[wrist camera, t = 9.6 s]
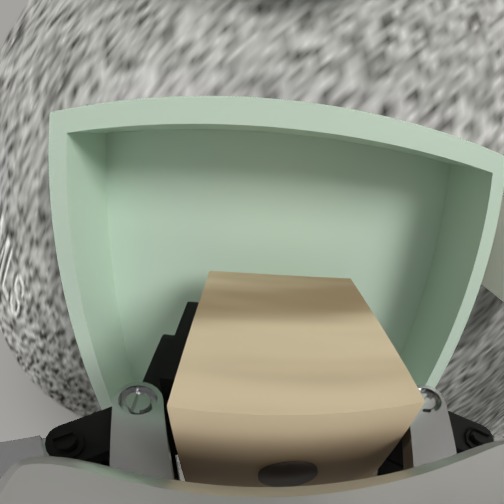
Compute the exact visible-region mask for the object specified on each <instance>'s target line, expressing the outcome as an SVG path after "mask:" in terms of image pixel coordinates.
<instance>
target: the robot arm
mask: <svg viewBox="0 0 504 504" xmlns="http://www.w3.org/2000/svg"><path fill="white" fill-rule="evenodd" d="M198 304H199V302H189V301H188V302H187V304H186V307H185V310H184V312H183V315H182V317H181V320H180V322H179V325H178V327H177V330H176V333H175V335H168V334H163V335H162V337H161V339H160V341H159V344H158V346H157V348H156V351H155V353H154V355H153V358H152V360H151V362H150V365H149V367H148V370H147V372H146V374H145V377H144V379H143V382H132V383H128V384H126V385H123V386H122V387H121V388H119V389H118V390H117V392H116V393H115V394H114V398H113V405H112V406H111V407H109V408H106V409H104V410H101V411H98V412H96V413H93V414H91V415H88V416H85V417H82V418H80V419H77V420H74V421H71V422H68V423H66V424H63V425H60V426H58V427H56V428H54V429H52V430H51V431H50V432H49V434H48V435H47V437H46V438H43V439H42V438H41V437H40V436H35V437H30V438H24V439H19V440H13V441H6V442H0V504H504V437H502V436H498V435H494V436H492V434H491V433H490V431H489V430H488V429H487V428H486V427H484V426H482V425H480V424H478V423H475V422H473V421H470V420H468V419H466V418H463V417H461V416H459V415H456V414H454V413H452V412H449V411H448V410H447V406H446V402H445V399H444V397H443V395H442V394H441V393H440V392H439V391H438V390H437V389H435V388H433V387H431V386H427V385H417V387H418V389H419V391H420V393H421V394H422V396H423V398H424V400H425V403H424V405H423V406H422V408H421V409H420V411H419V413H418V414H417V416H416V417H415V419H414V420H413V422H412V424H411V425H410V427H409V428H408V429H407V431H406V432H405V434H404V435H403V437H402V438H401V440H400V441H399V442H398V444H397V445H396V446H395V448H394V449H393V451H392V452H391V453H390V454H389V456H388V457H387V458H386V460H385V461H384V462H383V463H382V465H381V466H380V467H379V468H378V470H377V471H376V472H375V473H374V474H373V476H372V477H370V478H365V479H359V480H353V481H346V482H339V483H331V484H321V485H310V486H294V487H238V486H222V485H210V484H201V483H193V482H185V481H181V480H180V474H179V468H178V462H177V456H176V455H177V454H178V453H177V449H176V445H175V441H174V437H173V432H172V428H171V424H170V419H169V415H168V410H167V404H168V400H169V397H170V393H171V390H172V387H173V383H174V380H175V377H176V373H177V370H178V367H179V364H180V360H181V357H182V354H183V351H184V348H185V344H186V341H187V338H188V335H189V332H190V329H191V325H192V322H193V319H194V316H195V313H196V310H197V307H198Z"/></svg>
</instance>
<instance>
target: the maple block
mask: <svg viewBox="0 0 504 504" xmlns="http://www.w3.org/2000/svg"><path fill="white" fill-rule="evenodd" d="M424 403H425V400H424V398H423V396H422V394H421V393H420V391H419V389H418V387H417V385H416V384H415V382H414V380H413V378H412V377H411V375H410V373H409V371H408V370H407V368H406V366H405V364H404V363H403V361H402V359H401V358H400V356H399V354H398V353H397V351H396V349H395V348H394V346H393V344H392V343H391V341H390V339H389V338H388V336H387V334H386V333H385V331H384V330H383V328H382V326H381V325H380V323H379V322H378V320H377V318H376V317H375V315H374V314H373V312H372V311H371V309H370V307H369V306H368V304H367V303H366V301H365V300H364V298H363V297H362V295H361V294H360V292H359V290H358V289H357V287H356V286H355V284H354V283H353V281H352V280H351V278H329V277H309V276H290V275H272V274H255V273H239V272H224V271H209V274H208V277H207V280H206V283H205V286H204V289H203V292H202V295H201V298H200V301H199V304H198V307H197V310H196V313H195V316H194V319H193V322H192V325H191V329H190V332H189V335H188V338H187V341H186V344H185V348H184V351H183V354H182V357H181V360H180V364H179V367H178V370H177V373H176V377H175V380H174V383H173V387H172V390H171V393H170V397H169V400H168V404H167V410H168V415H169V419H170V424H171V428H172V432H173V437H174V441H175V445H176V449H177V453H178V457H179V460H180V464H181V468H182V471H183V475H184V478H185V482H193V483H201V484H210V485H222V486H238V487H294V486H310V485H321V484H331V483H339V482H346V481H353V480H359V479H365V478H370V477H372V476H373V474H374V473H375V472H376V471H377V470H378V468H379V467H380V466H381V465H382V463H383V462H384V461H385V460H386V458H387V457H388V456H389V454H390V453H391V452H392V451H393V449H394V448H395V446H396V445H397V444H398V442H399V441H400V440H401V438H402V437H403V435H404V434H405V432H406V431H407V429H408V428H409V427H410V425H411V424H412V422H413V420H414V419H415V417H416V416H417V414H418V413H419V411H420V409H421V408H422V406H423V405H424Z"/></svg>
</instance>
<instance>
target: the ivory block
mask: <svg viewBox="0 0 504 504" xmlns="http://www.w3.org/2000/svg"><path fill="white" fill-rule="evenodd" d="M481 284H482V285H483V286H484V287H485V288H487V289H488V290H489V291H490V292H492V293H493V294H494V295H495V296H497V297H498V298H499V299H500V300H502V301H503V302H504V195H502V201H501V207H500V212H499V218H498V223H497V227H496V232H495V236H494V240H493V244H492V248H491V252H490V256H489V259H488V263H487V266H486V270H485V273H484V276H483V279H482V283H481Z"/></svg>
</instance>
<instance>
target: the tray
mask: <svg viewBox="0 0 504 504" xmlns="http://www.w3.org/2000/svg"><path fill="white" fill-rule="evenodd" d="M49 187H50V202H51V214H52V224H53V232H54V240H55V247H56V253H57V260H58V265H59V271H60V276H61V281H62V286H63V291H64V295H65V300H66V304H67V308H68V312H69V316H70V320H71V324H72V327H73V331H74V334H75V338H76V341H77V344H78V348H79V351H80V354H81V357H82V360H83V363H84V366H85V369H86V372H87V374H88V377H89V380H90V382H91V385H92V388H93V390H94V393H95V395H96V398H97V400H98V403H99V405H100V407H101V410H104V409H106V408H109V407H111V406H112V405H113V398H114V394H115V393H116V392H117V390H118V389H119V388H121V387H122V386H123V385H126V384H128V383H132V382H143V379H144V377H145V374H146V372H147V370H148V367H149V365H150V362H151V360H152V358H153V355H154V353H155V351H156V348H157V346H158V344H159V341H160V339H161V337H162V335H163V334H168V335H175V333H176V330H177V327H178V325H179V322H180V320H181V317H182V315H183V312H184V310H185V307H186V304H187V302H188V301H189V302H199V301H200V298H201V295H202V292H203V289H204V286H205V283H206V280H207V277H208V274H209V271H224V272H239V273H255V274H272V275H290V276H309V277H329V278H351V280H352V281H353V283H354V284H355V286H356V287H357V289H358V290H359V292H360V294H361V295H362V297H363V298H364V300H365V301H366V303H367V304H368V306H369V307H370V309H371V311H372V312H373V314H374V315H375V317H376V318H377V320H378V322H379V323H380V325H381V326H382V328H383V330H384V331H385V333H386V334H387V336H388V338H389V339H390V341H391V343H392V344H393V346H394V348H395V349H396V351H397V353H398V354H399V356H400V358H401V359H402V361H403V363H404V364H405V366H406V368H407V370H408V371H409V373H410V375H411V377H412V378H413V380H414V382H415V384H416V385H427V386H431V387H433V388H435V387H436V385H437V384H438V382H439V380H440V378H441V376H442V374H443V372H444V371H445V369H446V367H447V365H448V363H449V361H450V359H451V357H452V355H453V352H454V350H455V348H456V346H457V344H458V342H459V340H460V337H461V335H462V333H463V330H464V328H465V326H466V323H467V321H468V318H469V316H470V313H471V311H472V308H473V305H474V303H475V300H476V297H477V294H478V291H479V289H480V286H481V283H482V279H483V276H484V273H485V270H486V266H487V263H488V259H489V256H490V252H491V248H492V244H493V240H494V236H495V232H496V227H497V223H498V218H499V212H500V207H501V201H502V195H503V188H504V155H501V154H499V153H497V152H495V151H492V150H490V149H487V148H485V147H482V146H480V145H477V144H475V143H472V142H469V141H467V140H464V139H461V138H458V137H455V136H452V135H449V134H446V133H443V132H440V131H437V130H434V129H431V128H427V127H424V126H421V125H417V124H413V123H410V122H406V121H402V120H398V119H394V118H390V117H386V116H382V115H377V114H373V113H368V112H363V111H358V110H353V109H347V108H342V107H336V106H330V105H323V104H316V103H308V102H300V101H292V100H282V99H270V98H256V97H237V96H176V97H156V98H143V99H132V100H122V101H114V102H106V103H99V104H92V105H86V106H80V107H74V108H69V109H64V110H59V111H54V112H50V122H49Z"/></svg>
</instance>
